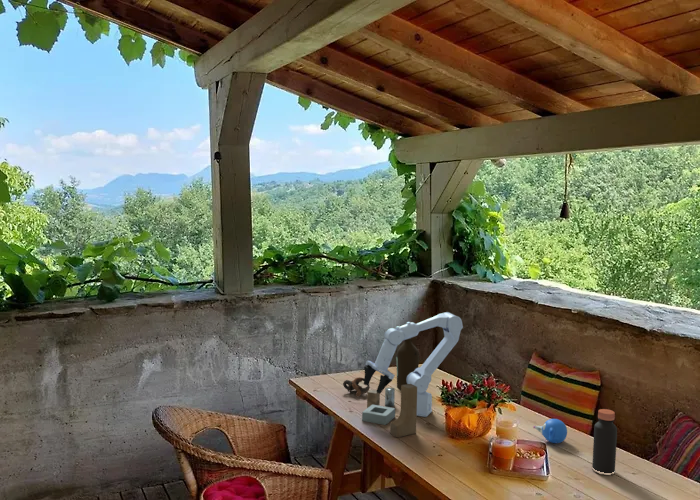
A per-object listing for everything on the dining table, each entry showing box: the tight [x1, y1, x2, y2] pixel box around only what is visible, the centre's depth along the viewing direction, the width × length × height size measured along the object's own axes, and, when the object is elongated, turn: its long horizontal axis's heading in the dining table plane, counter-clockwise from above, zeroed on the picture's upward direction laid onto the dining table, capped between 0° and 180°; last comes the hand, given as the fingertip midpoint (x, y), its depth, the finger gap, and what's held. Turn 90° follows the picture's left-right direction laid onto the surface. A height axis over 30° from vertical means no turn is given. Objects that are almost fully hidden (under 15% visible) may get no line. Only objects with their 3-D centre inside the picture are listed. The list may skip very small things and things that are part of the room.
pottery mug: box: [342, 376, 370, 398], centre depth 270 cm, size 12×10×8 cm
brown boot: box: [389, 384, 417, 438], centre depth 224 cm, size 9×4×18 cm, turn 120°
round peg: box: [384, 387, 396, 408], centre depth 256 cm, size 4×4×7 cm
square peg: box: [366, 389, 381, 409], centre depth 252 cm, size 4×4×7 cm
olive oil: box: [395, 337, 420, 390], centre depth 280 cm, size 11×11×25 cm
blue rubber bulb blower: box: [532, 418, 568, 444], centre depth 220 cm, size 12×12×8 cm
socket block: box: [361, 404, 396, 426], centre depth 240 cm, size 10×10×4 cm
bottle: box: [591, 408, 618, 473], centre depth 195 cm, size 7×7×20 cm
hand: (371, 388), depth 242 cm, fingers open, 7 cm apart
